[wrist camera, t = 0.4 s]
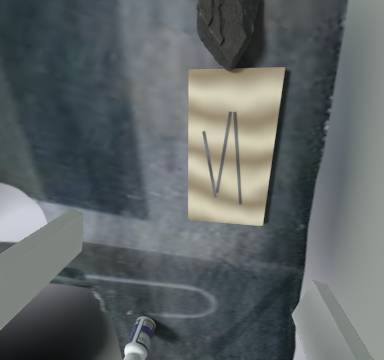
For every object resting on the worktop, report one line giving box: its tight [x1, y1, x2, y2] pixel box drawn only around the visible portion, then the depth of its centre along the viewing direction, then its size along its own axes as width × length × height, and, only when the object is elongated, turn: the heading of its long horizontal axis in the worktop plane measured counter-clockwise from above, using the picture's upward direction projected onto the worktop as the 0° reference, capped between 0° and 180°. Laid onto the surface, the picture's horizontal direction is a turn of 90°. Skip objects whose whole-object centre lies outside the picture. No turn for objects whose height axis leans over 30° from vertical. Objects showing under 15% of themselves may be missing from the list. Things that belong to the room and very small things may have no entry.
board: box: [188, 67, 285, 226], centre depth 33 cm, size 26×14×2 cm, turn 0°
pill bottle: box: [124, 316, 156, 360], centre depth 47 cm, size 5×5×10 cm
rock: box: [197, 0, 261, 71], centre depth 26 cm, size 10×6×10 cm
